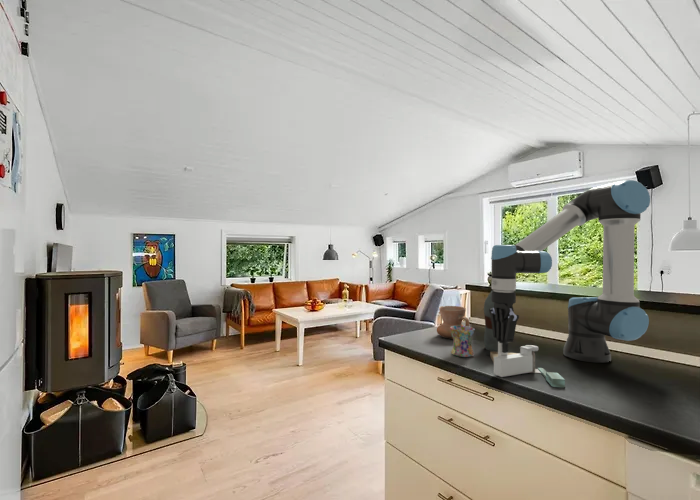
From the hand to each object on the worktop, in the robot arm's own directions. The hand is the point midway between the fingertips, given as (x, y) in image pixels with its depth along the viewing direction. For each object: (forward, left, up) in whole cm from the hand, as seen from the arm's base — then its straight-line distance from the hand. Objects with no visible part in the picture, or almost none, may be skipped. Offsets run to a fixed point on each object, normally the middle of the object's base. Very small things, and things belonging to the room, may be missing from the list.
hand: (502, 361), depth 117 cm
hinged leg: (-5, 0, -3) cm, 6 cm away
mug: (+12, -19, -4) cm, 23 cm away
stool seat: (-7, -4, -4) cm, 9 cm away
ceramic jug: (+13, -47, -4) cm, 49 cm away
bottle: (-3, -30, -4) cm, 31 cm away
